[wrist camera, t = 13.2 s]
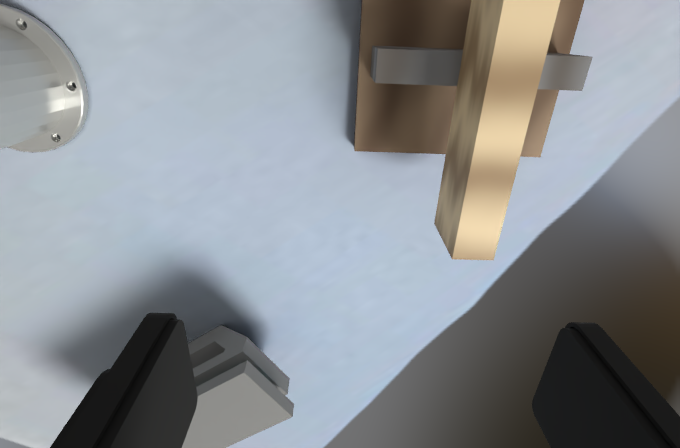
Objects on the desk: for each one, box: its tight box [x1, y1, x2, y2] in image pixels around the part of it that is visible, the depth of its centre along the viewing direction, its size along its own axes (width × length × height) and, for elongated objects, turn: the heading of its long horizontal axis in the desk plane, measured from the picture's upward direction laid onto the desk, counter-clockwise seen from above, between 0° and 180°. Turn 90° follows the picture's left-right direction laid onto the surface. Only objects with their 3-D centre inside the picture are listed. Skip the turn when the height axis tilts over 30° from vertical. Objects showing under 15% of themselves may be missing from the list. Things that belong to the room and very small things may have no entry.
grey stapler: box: [182, 325, 294, 448], centre depth 47 cm, size 25×8×11 cm, turn 123°
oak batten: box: [434, 0, 560, 260], centre depth 26 cm, size 26×3×6 cm, turn 178°
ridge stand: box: [354, 0, 592, 157], centre depth 32 cm, size 18×16×6 cm
